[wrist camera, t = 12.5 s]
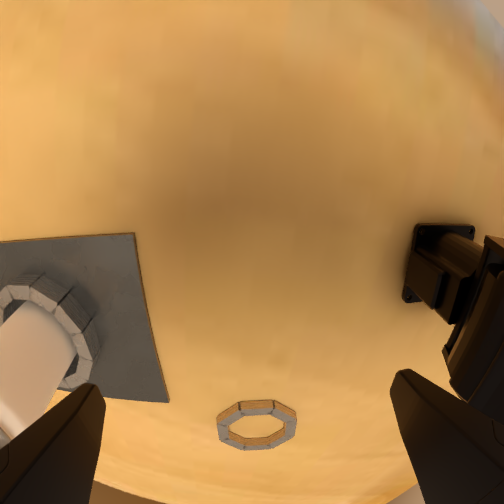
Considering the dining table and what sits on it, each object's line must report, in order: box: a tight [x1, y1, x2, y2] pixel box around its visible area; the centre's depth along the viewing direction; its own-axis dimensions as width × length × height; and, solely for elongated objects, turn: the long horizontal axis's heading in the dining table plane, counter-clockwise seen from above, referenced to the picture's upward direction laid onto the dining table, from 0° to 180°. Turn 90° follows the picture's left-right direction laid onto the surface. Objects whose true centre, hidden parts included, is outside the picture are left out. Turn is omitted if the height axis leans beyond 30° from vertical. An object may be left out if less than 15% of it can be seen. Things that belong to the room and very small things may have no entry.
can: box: [0, 300, 77, 449], centre depth 16 cm, size 6×6×12 cm
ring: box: [217, 400, 297, 451], centre depth 26 cm, size 8×8×1 cm
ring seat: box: [0, 233, 170, 403], centre depth 20 cm, size 18×16×2 cm
